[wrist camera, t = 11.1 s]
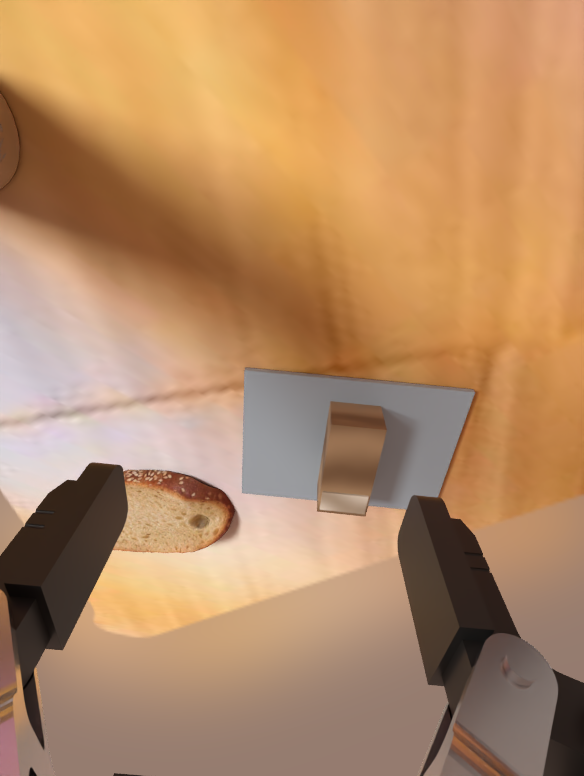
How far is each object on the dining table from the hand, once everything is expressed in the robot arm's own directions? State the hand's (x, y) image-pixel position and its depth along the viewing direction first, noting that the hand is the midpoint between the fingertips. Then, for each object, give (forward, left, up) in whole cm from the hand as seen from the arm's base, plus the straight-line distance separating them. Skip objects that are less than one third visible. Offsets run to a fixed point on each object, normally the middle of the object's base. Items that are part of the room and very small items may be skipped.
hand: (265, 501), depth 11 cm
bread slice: (-16, -31, -27) cm, 44 cm away
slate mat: (+6, -18, -26) cm, 32 cm away
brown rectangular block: (+6, -18, -26) cm, 32 cm away
